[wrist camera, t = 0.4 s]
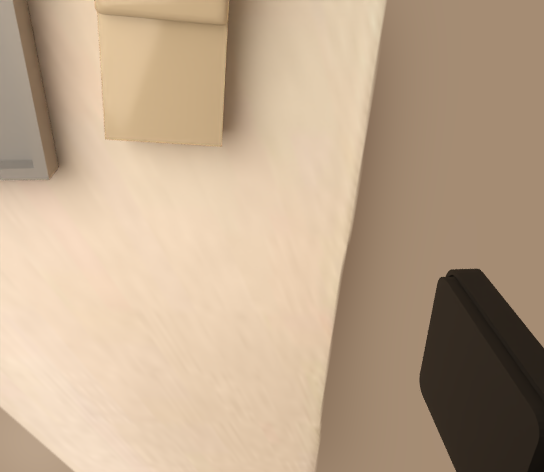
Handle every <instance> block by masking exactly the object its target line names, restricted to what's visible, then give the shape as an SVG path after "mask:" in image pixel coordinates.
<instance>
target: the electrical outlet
mask: <svg viewBox="0 0 544 472" xmlns="http://www.w3.org/2000/svg"><path fill="white" fill-rule="evenodd" d="M94 1H95V9H96V11H97V14H98V15H97V17H98V32H99V48H100V64H101V80H102V95H103V111H104V127H105V139H109V140H125V141H140V142H156V143H172V144H187V145H203V146H219V147H222V130H223V110H224V90H225V70H226V50H227V30H228V12H229V0H94Z"/></svg>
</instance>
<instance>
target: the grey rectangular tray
mask: <svg viewBox="0 0 544 472" xmlns="http://www.w3.org/2000/svg"><path fill="white" fill-rule="evenodd" d="M58 167H59V166H58V160H57V155H56V150H55V145H54V140H53V134H52V129H51V124H50V119H49V114H48V108H47V103H46V98H45V93H44V88H43V82H42V77H41V72H40V67H39V62H38V56H37V51H36V46H35V41H34V36H33V30H32V25H31V20H30V15H29V10H28V4H27V0H0V180H50V178H51V177H52V176H53V174H54V173H55V171H56V170H57V169H58Z"/></svg>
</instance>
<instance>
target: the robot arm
mask: <svg viewBox="0 0 544 472" xmlns="http://www.w3.org/2000/svg"><path fill="white" fill-rule="evenodd" d="M420 388H421V392H422V395H423V397H424V400H425V402H426V404H427V406H428V408H429V411H430V413H431V415H432V417H433V420H434V422H435V425H436V427H437V429H438V431H439V433H440V436H441V438H442V440H443V442H444V445H445V447H446V449H447V452H448V454H449V456H450V458H451V461H452V463H453V465H454V467H455V470H456V472H544V348H543V347H542V346H541V344H540V343H539V342H538V341H537V339H536V338H535V337H534V336H533V334H532V333H531V332H530V331H529V329H528V328H527V327H526V326H525V324H524V323H523V322H522V321H521V319H520V318H519V317H518V316H517V315H516V313H515V312H514V311H513V309H512V308H511V307H510V306H509V304H508V303H507V302H506V301H505V300H504V298H503V297H502V296H501V294H500V293H499V292H498V291H497V289H496V288H495V287H494V286H493V284H492V283H491V282H490V281H489V279H488V278H487V277H486V276H485V274H484V273H483V272H482V271H481V270H480V269H455V270H450V271H449V272H448V273H447V275H446V277H441V278H440V279H439V280H438V284H437V288H436V293H435V299H434V304H433V310H432V315H431V320H430V325H429V330H428V335H427V340H426V346H425V351H424V356H423V361H422V367H421V372H420Z"/></svg>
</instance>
